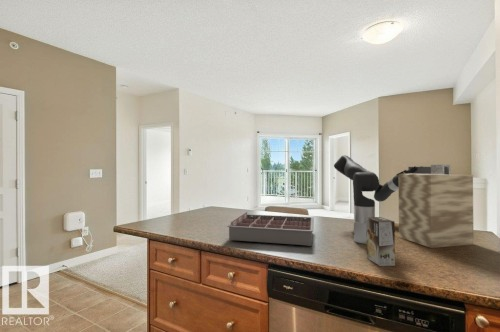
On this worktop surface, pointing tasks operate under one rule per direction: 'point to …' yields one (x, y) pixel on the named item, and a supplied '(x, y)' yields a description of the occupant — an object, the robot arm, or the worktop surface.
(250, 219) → the organizer tray
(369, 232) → the coffee box
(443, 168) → the bar
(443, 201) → the wood grain block
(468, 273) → the worktop surface
